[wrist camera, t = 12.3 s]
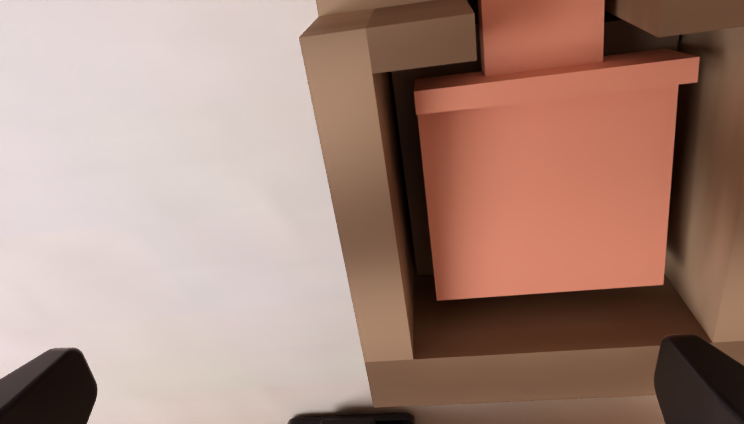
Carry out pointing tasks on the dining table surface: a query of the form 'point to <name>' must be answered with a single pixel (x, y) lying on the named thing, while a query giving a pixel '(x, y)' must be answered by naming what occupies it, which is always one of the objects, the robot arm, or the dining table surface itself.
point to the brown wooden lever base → (530, 311)
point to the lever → (549, 156)
